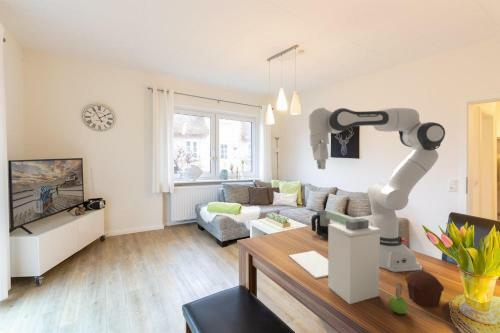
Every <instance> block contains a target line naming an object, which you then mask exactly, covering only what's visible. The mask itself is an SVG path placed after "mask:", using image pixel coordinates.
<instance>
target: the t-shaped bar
mask: <svg viewBox="0 0 500 333" xmlns="http://www.w3.org/2000/svg"><path fill="white" fill-rule="evenodd" d="M325 211H326V218H328V219H330V221H334V222H335V223H341V224H344V225H346V228H347V229H349V230H358V229H365V228H368V227H369V225H370V224H369V223H370V221H369V219H366V218H364V217H362V218H361V217H360V218H355V217H352V216H350V215H346V214H345V213H340V212H337V211H335V210H330V209H329V210H325Z"/></svg>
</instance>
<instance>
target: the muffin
mask: <svg viewBox="0 0 500 333" xmlns="http://www.w3.org/2000/svg"><path fill="white" fill-rule="evenodd" d="M405 281H406V284H407V286H406V287H407V292H408V298H409V300H411V301H412V302H413V303H414V304H417V305H420V306H421V307H423V308H431V309H434V308H438V307H439V306H440V301H441V298H442V293H443V291H444V286H443V285H442V283H441V282H440V280H438V279H437V277H435V275H433V274H431V273H429V272H427V271H423V270H414V271H411V272H410V273H409V274H407V275H406V277H405Z"/></svg>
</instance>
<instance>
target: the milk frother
mask: <svg viewBox="0 0 500 333" xmlns="http://www.w3.org/2000/svg"><path fill="white" fill-rule="evenodd" d="M326 211H327V210H317V211H316V214H314V215H312V216H311V220H310V221H311V231H312V232H315V233H316V234H317V235H320V236H326V237H328V224H331V219H328V218H326Z"/></svg>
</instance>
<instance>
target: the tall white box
mask: <svg viewBox="0 0 500 333" xmlns="http://www.w3.org/2000/svg"><path fill="white" fill-rule="evenodd" d="M327 241H328V247H327V248H328V250H327V252H328V253H327V256H328V258H327V259H328V276H327V287H328V289H330V290H331V291H333V292H334V293H335V294H337V295H338V296H339V297H341V299H343V300H344V301H346V302H347V303H348V304H349V305H352V304H355V303H359V302H362V301H365V300H366V301H367V300H368V299H373V298H376V297H379V296H380V267H379V259H380V229H379V228H376V227H373V225H370V224H369V227H368V228H365V229H358V230H349V229H347V228H346V225H344V224H341V223H339V222H335V223H330V224H328V239H327Z"/></svg>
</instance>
